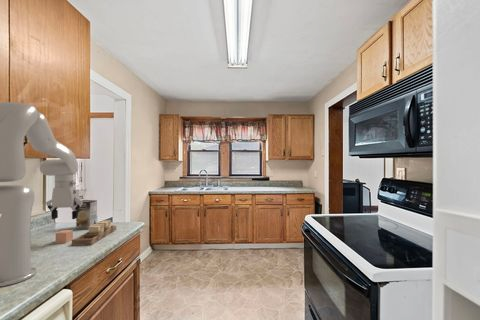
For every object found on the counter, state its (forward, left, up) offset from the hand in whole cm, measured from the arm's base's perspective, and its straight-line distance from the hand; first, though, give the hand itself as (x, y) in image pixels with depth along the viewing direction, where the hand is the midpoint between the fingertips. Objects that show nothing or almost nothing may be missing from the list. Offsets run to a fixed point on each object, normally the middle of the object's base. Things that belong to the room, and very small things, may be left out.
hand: (64, 218), depth 120 cm
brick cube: (0, -1, -11) cm, 11 cm away
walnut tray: (+13, -5, -11) cm, 17 cm away
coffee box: (+15, +19, -11) cm, 27 cm away
